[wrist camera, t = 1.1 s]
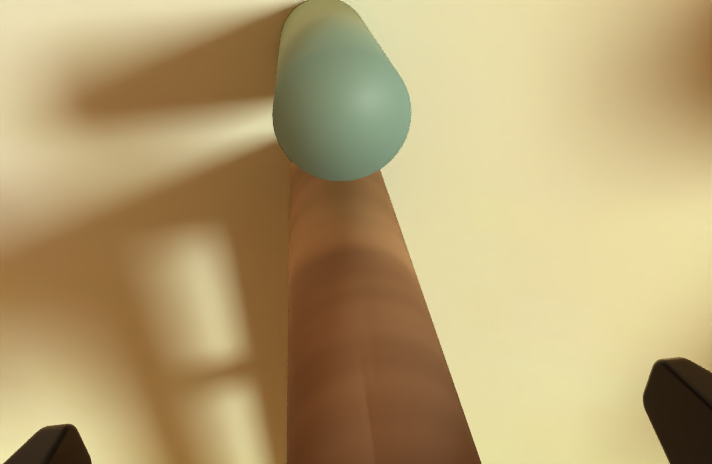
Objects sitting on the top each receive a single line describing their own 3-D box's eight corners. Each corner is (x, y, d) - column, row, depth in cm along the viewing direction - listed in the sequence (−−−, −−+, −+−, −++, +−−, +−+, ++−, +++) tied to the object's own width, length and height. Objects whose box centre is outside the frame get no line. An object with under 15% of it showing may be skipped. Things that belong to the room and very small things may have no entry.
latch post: (370, 87, 15) (410, 175, 10) (285, 92, 15) (281, 186, 10) (367, -6, 14) (412, 41, 9) (274, 0, 14) (263, 50, 8)
